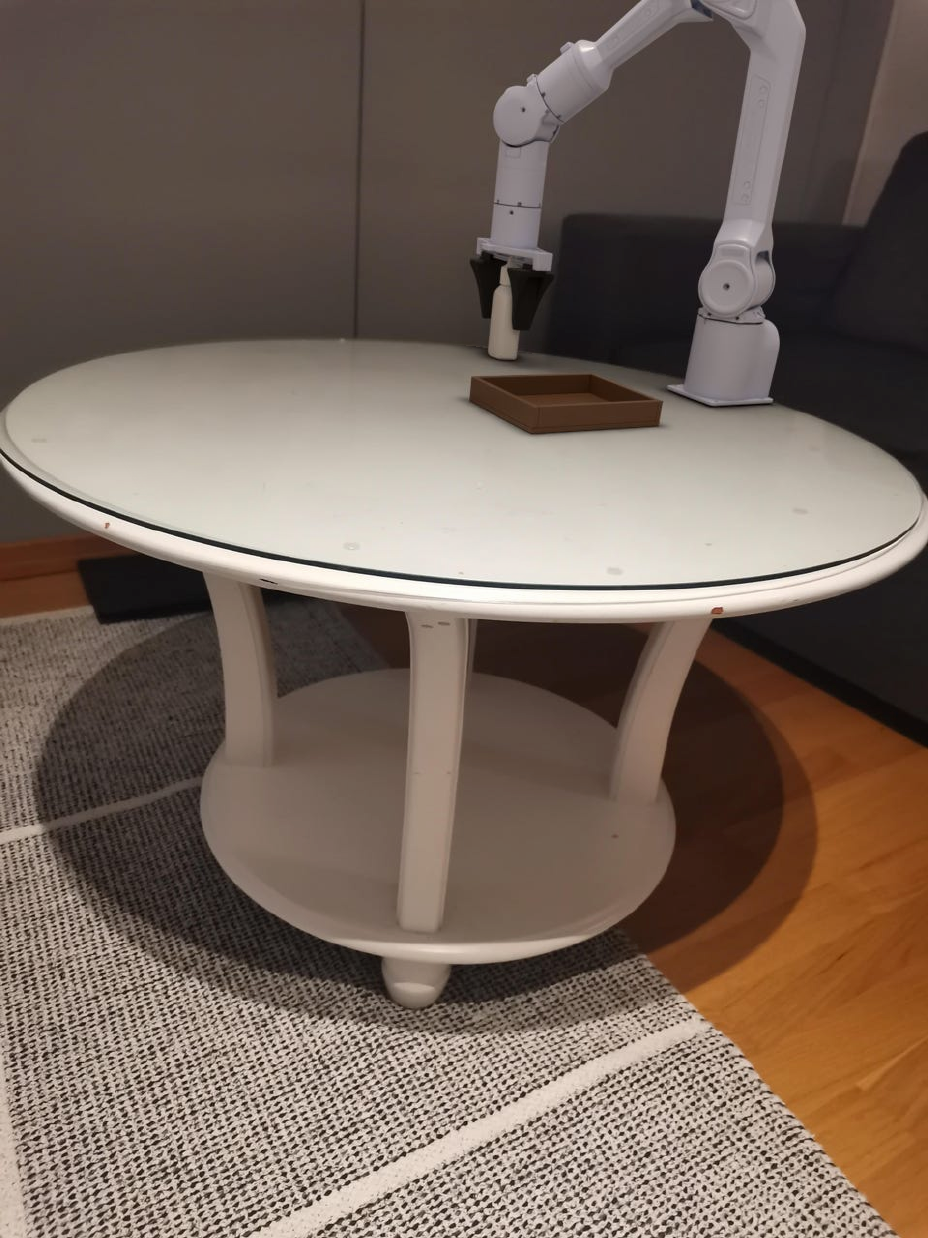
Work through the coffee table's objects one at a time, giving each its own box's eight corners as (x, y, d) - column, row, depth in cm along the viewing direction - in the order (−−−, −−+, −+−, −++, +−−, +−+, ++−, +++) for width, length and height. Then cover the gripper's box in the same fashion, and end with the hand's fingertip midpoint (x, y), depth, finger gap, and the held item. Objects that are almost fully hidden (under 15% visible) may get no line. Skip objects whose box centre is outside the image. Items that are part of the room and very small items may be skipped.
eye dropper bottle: (523, 354, 121) (535, 255, 116) (513, 362, 116) (524, 259, 111) (491, 350, 122) (501, 251, 117) (479, 357, 117) (489, 254, 112)
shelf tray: (589, 395, 104) (592, 372, 103) (659, 425, 94) (663, 400, 93) (468, 400, 97) (470, 376, 96) (531, 433, 87) (534, 407, 86)
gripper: (459, 197, 115) (450, 312, 121) (520, 209, 104) (507, 335, 110) (508, 201, 118) (497, 313, 124) (573, 213, 107) (557, 335, 113)
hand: (505, 323), depth 117 cm, fingers open, 7 cm apart
